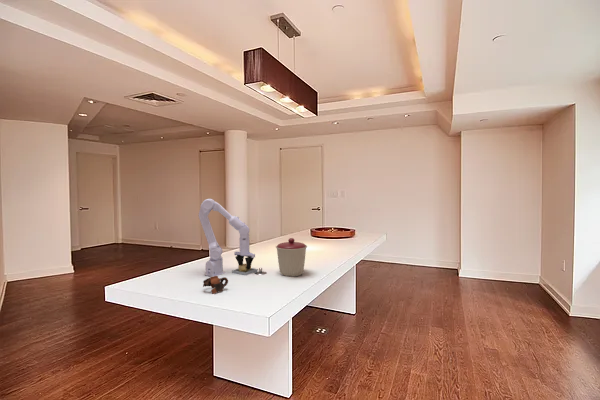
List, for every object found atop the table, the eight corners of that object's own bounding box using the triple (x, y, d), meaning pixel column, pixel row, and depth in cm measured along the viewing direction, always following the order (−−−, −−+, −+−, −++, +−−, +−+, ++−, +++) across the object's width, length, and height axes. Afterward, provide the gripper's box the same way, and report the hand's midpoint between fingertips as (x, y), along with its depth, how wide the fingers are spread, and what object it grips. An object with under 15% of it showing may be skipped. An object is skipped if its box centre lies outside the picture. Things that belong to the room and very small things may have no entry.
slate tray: (245, 276, 184) (245, 273, 184) (231, 273, 190) (231, 270, 190) (257, 272, 193) (257, 269, 193) (244, 269, 199) (244, 266, 199)
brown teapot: (206, 296, 152) (201, 280, 155) (206, 299, 161) (201, 283, 163) (231, 286, 157) (225, 270, 159) (230, 290, 165) (224, 274, 168)
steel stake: (261, 276, 184) (261, 270, 184) (251, 274, 188) (251, 268, 188) (269, 273, 190) (269, 267, 190) (259, 271, 194) (259, 266, 194)
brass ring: (243, 272, 187) (243, 266, 187) (237, 271, 190) (236, 265, 190) (251, 269, 192) (251, 264, 192) (244, 268, 195) (244, 263, 195)
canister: (308, 270, 196) (308, 235, 195) (306, 279, 178) (305, 240, 177) (278, 270, 197) (278, 235, 196) (273, 278, 179) (272, 240, 179)
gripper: (258, 245, 190) (258, 268, 191) (240, 243, 198) (240, 265, 199) (250, 247, 184) (250, 271, 185) (231, 245, 192) (232, 268, 193)
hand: (244, 268), depth 191 cm, fingers closed on brass ring, 5 cm apart
